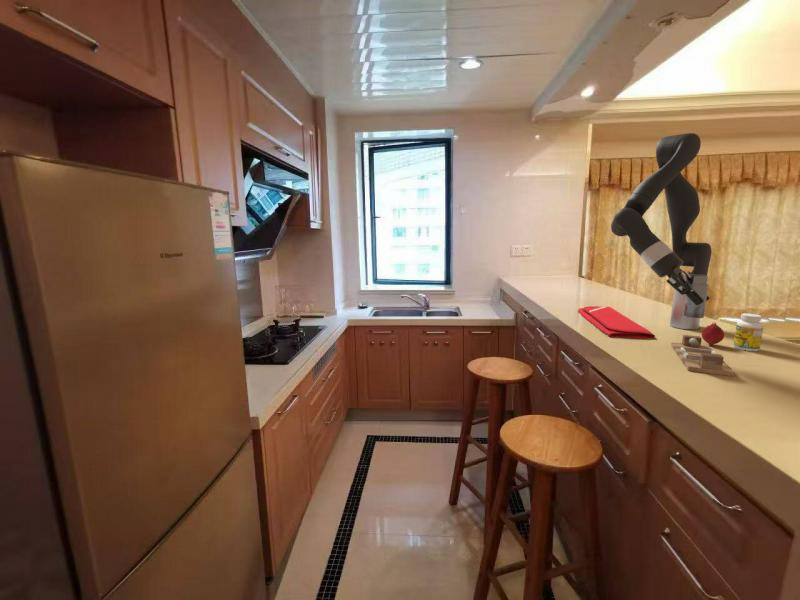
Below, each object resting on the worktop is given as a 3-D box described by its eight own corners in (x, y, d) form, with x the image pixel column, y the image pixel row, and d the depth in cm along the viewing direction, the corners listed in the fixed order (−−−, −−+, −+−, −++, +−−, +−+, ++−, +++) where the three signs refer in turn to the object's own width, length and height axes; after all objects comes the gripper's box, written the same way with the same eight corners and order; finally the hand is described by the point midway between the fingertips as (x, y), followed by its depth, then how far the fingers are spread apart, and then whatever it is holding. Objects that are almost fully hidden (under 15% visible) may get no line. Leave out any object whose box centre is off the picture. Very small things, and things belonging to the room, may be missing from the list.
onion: (726, 348, 121) (730, 324, 119) (706, 347, 122) (710, 324, 120) (715, 342, 126) (718, 320, 125) (696, 342, 127) (699, 319, 126)
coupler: (682, 313, 114) (687, 274, 111) (701, 315, 112) (707, 274, 109) (685, 317, 110) (690, 276, 107) (705, 318, 108) (711, 276, 105)
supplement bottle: (765, 351, 117) (771, 317, 115) (746, 352, 117) (751, 317, 115) (746, 345, 123) (751, 312, 121) (727, 345, 123) (733, 313, 121)
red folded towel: (608, 338, 135) (608, 328, 134) (576, 313, 174) (577, 305, 174) (655, 340, 132) (656, 330, 131) (612, 313, 172) (613, 306, 171)
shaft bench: (671, 345, 124) (673, 331, 123) (708, 349, 120) (710, 334, 119) (688, 370, 103) (690, 353, 102) (734, 376, 98) (737, 358, 98)
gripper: (663, 252, 109) (709, 298, 102) (680, 249, 117) (723, 291, 110) (641, 269, 114) (683, 313, 107) (659, 265, 122) (699, 305, 115)
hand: (703, 301), depth 108 cm, fingers closed on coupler, 4 cm apart
